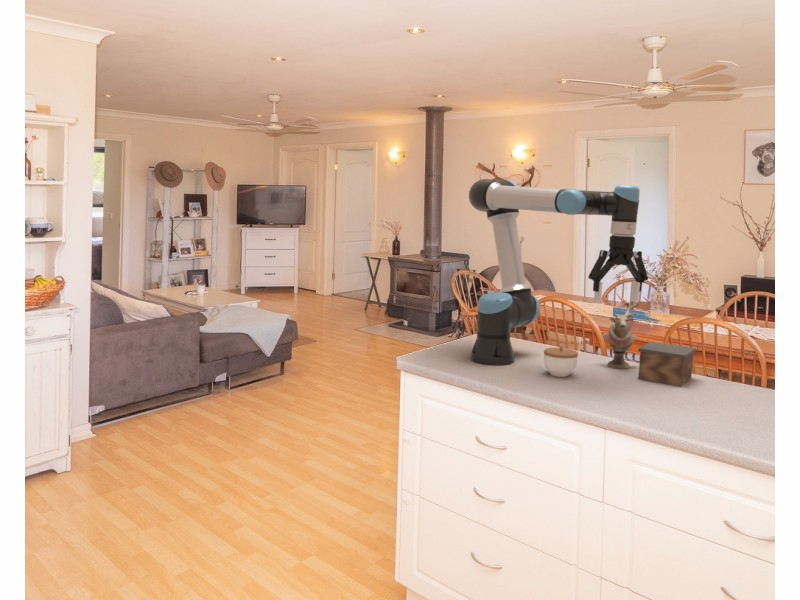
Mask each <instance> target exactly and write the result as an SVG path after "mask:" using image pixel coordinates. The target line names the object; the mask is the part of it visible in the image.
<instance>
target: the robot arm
mask: <svg viewBox="0 0 800 600" xmlns="http://www.w3.org/2000/svg"><path fill="white" fill-rule="evenodd" d="M468 201H469V203H470V205H471V207H472V208H473V209H475V210H477V211H479V212H482V213H483V212H485V213H486V218H487V221H488V222H490V223H491V224H492V229H493V230H492V231H493V237H494V243H495V248H496V249H495V250H496V256H497V261H498V269H499V276H500V280H501V281H500V283H501V289H500V290H499V291H498V292H489V293H484V294H482V295H481V296H480V297H479V299H478V304H477V323H476V324H477V325H476V338H475V342H474V345H473V347H472V350H471V352H470V360H471V359H472V360H471V361H473V362H475V361H476V362H475V363H478V362H479V364H483V363H484V365H492V366H494V365H496V366H498V365H499V366H501V365H504V366H505V365H509V364H514V362H515V353H514V349H513V345H512V342H511V330H512V329H514V328H518V327H520V328H522V327H526V326H528V325H531V324H532V323H534V322H536V319H538V317H539V315H540V311H541V310H540V308H541V306H540V302H539V300H538V298H537V297H536V296H535V295H534V294H532V289H531V286H530V285H528V284H527V282H526V276H525V271H524V264H523V258H522V257H523V256H522V250H521V244H520V237H519V233H518V232H519V231H518V225H517V218H518V216H519V215H520V211H519V210H521V211H533V212H546V213H555V214H556V213H557V214H566V215H572V216H574V215H583V216H584V215H588V216H591V215H592V216H596V215H597V216H611V223H610V231H609V233H610V234H611V235H610V236H609V242H608V243H609V245H608V246H609V250H604V249H600V250H599V255H598V257H597V259H596V262H595V263H594V264H593V265H594V266H592V268H591V271H590V272H589V273H588V279H590V280H592V281H593V285H592V286H593V287H592V291H593V292H594V294H593V295H594V297H593V302H596V303H599V304H600V303H601V302H602V291H603V282H602V279H604V277H605V276H606V275H607V274H608V273H609V271H610V270H611V269H612V268H613V267H614V266H621V265H622V266H626V269H627V270H628V271H629V272H630V273H631V275H632V277H633V279H634V280H635V281H634V280H633V281H632V288H631V298H630V302H631V301H632V302H634V303H638V302H639V296H640V292H642V285H643V283H645V281H647V280H648V279H649V276H648V273H647V270H646V266H645V264H644V260H643V252H642V251H641V250H634V248H635V245H636V244H635V242H636V237H635V235H636V232H637V221H638V212H639V203H640V188H639V187H638V186H635V185H615V187H614V190H613V191H601V190H600V191H599V190H598V191H597V190H582V189H574V188H569V189H568V188H567V189H566V188H550V187H536V186H535V187H534V186H533V187H532V186H519V185H518V184H516V183H515V182H513V181H511V180H507V179H491V178H490V179H489V178H482V179H481V178H480V179H479V180H476V182H474V183H473V184H472V185H471V187H470V188H469V191H468ZM607 258H608V259H607ZM632 258H634V261H633V260H632Z"/></svg>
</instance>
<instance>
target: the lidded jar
mask: <svg viewBox="0 0 800 600" xmlns="http://www.w3.org/2000/svg"><path fill="white" fill-rule="evenodd" d="M543 353H544V355H543V360H544V361H543V362H544V367H545V369H546V370H547V371H548V373H549V375H550V376H554V377H558V378H559V377H563V378H564V377H565V378H566V377H569V376H570V375H571V374H572V373H573V372H574V371H575V368H576V366H577V364H578V356H579V352H578V351H577V350H575V349H571V348H565V347H563V345H560V346H559V347H548V348H545V349H544V350H543Z"/></svg>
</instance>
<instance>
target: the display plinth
mask: <svg viewBox="0 0 800 600" xmlns="http://www.w3.org/2000/svg"><path fill="white" fill-rule="evenodd" d="M638 352H639V354H640V355H639V365H638V377H637V379H639V380H643V381H650V382H655V383H660V384H665V383H666V384H667V385H671V384H672V386H676V385H677V386H678V387H682V386H683V385H685V384H686V383H687V382H688V381H690V380H691V379H692V374H693V372H692V371H693V365H694V364H693V363H694V354H695V352H697V347H692V346H691V347H690V346H683V345H677V344H671V343H663V342H656V341H650V342H648V343H647V344H644V345H643V346H640V347H639V348H638ZM690 378H691V379H690ZM686 381H687V382H686ZM685 382H686V383H685ZM684 383H685V384H684Z"/></svg>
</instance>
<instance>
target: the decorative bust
mask: <svg viewBox="0 0 800 600" xmlns="http://www.w3.org/2000/svg"><path fill="white" fill-rule="evenodd" d="M634 303H635V302H632V301H631V300H630V302H629V304H628V306H627V309H626V312H625V313H624V314H618V313H617V314H616V316H615V317H614V316H610V317H609V321H610V322H611V323H610V325H609V328H608V332H605V333H603V334H602V335H601V336H602V338H603V339H604V340H605V341H607V342H608V344H609V346H610V347H611V348H612V354H614V356H613V359H612V360H610V361H609V362H607V363H606V364H607V366H608V368H612V369H620V370H625V369H627V370H628V369H629V368H630V367H631V366H630V364H629V363H628V362H626V361H625V359H624V358H625V357H624V356H625V355H626V354H627V351H628V350H629V349H630V348H631V346H632V344H633V343H634V342H635V341H636V340H637V338H638V336H637V334H635V333H632V325H631V324H630V323H632V322H633V321H634V318H631V317H633V316H635V315H637V312H632V313H631V311H632V310H634V309H635V308H637V307H639V306H640V305H641V304H642V301H638V302H636V304H634Z"/></svg>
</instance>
